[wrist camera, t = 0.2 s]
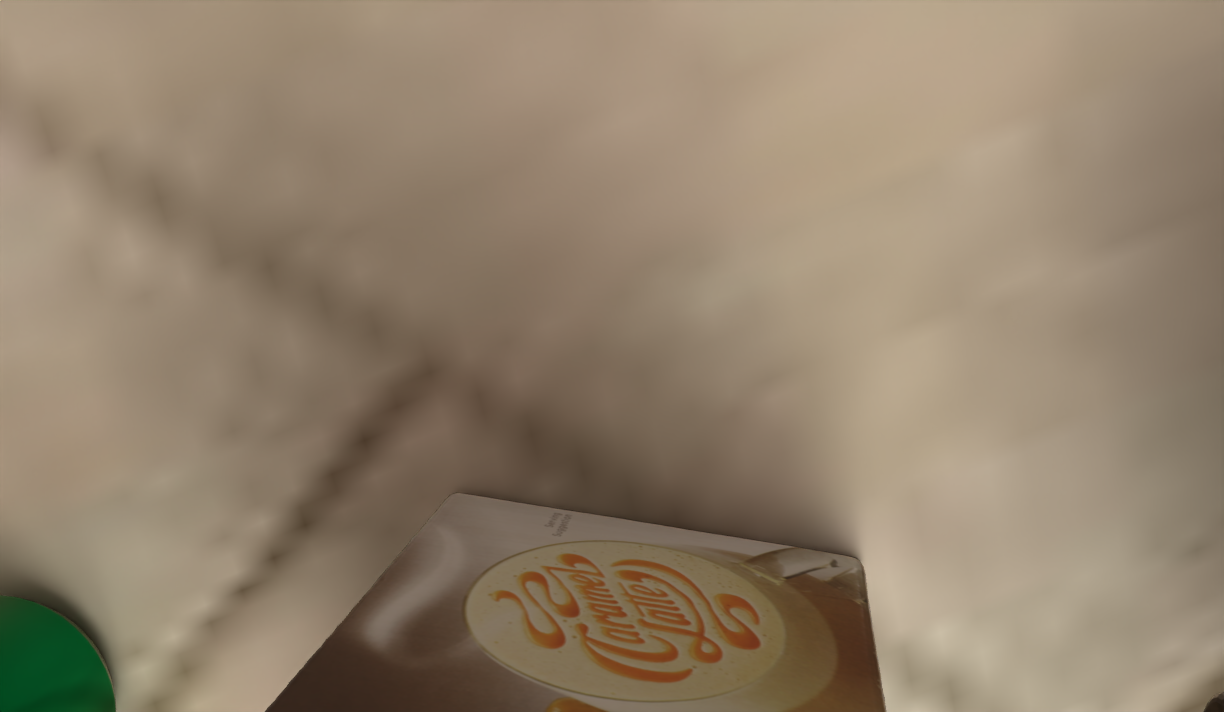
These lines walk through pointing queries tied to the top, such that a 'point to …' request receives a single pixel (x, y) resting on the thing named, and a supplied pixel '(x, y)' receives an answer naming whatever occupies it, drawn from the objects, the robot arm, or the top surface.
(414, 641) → the coffee box
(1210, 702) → the robot arm
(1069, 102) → the top surface
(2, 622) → the soda can
